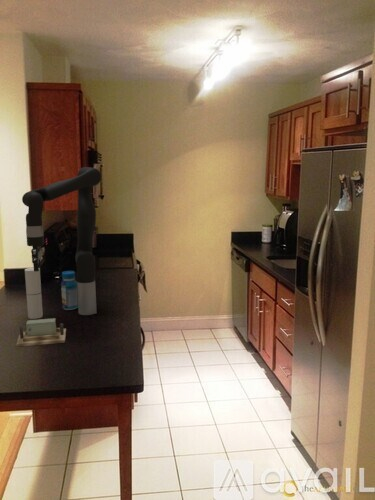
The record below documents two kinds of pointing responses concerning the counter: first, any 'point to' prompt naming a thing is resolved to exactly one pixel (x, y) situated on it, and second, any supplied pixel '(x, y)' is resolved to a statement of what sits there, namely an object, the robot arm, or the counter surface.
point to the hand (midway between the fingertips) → (37, 269)
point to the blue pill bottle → (69, 291)
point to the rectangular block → (41, 327)
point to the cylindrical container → (33, 293)
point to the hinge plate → (40, 342)
